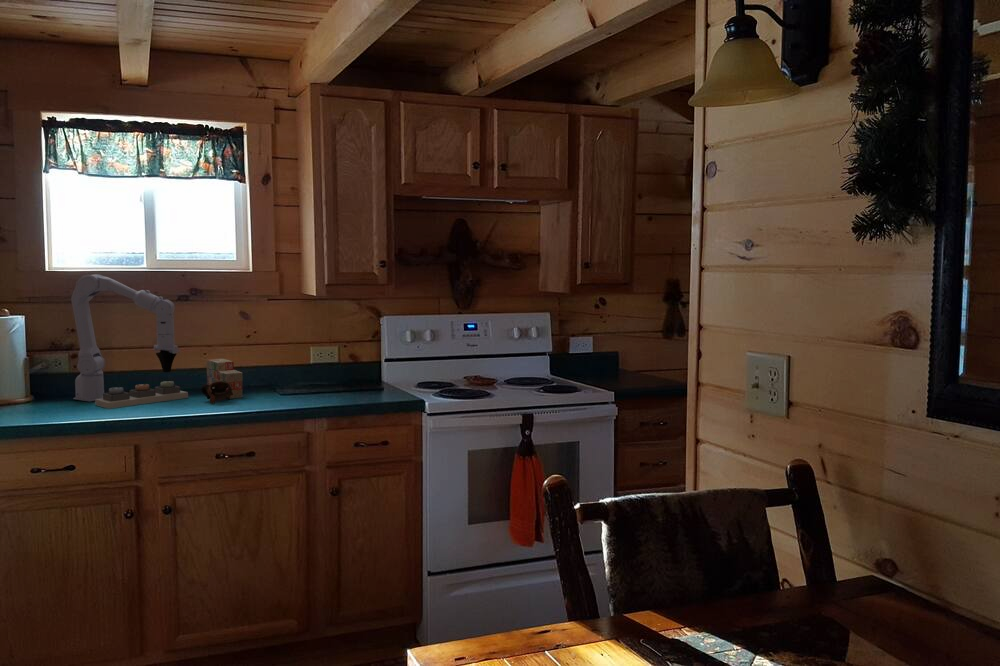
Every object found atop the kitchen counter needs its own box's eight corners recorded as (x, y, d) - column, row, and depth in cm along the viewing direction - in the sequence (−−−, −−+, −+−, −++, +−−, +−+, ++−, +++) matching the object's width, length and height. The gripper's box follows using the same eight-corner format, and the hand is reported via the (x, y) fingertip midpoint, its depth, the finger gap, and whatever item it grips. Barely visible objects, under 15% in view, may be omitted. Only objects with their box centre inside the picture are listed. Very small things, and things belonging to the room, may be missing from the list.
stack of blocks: (243, 397, 287) (242, 364, 286) (225, 399, 283) (224, 365, 282) (223, 389, 304) (222, 357, 303) (207, 391, 300) (206, 358, 299)
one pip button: (164, 387, 282) (164, 383, 281) (158, 386, 284) (158, 381, 284) (176, 386, 285) (176, 381, 285) (170, 384, 288) (170, 380, 288)
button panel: (108, 408, 264) (107, 396, 264) (95, 405, 271) (94, 393, 271) (188, 397, 286) (187, 386, 285) (174, 394, 292) (173, 383, 292)
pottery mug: (238, 400, 284) (238, 382, 279) (224, 416, 276) (224, 398, 271) (207, 391, 285) (206, 373, 280) (192, 407, 277) (191, 388, 272)
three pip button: (139, 390, 275) (138, 386, 275) (133, 389, 278) (133, 384, 278) (151, 389, 278) (151, 384, 278) (145, 387, 281) (145, 383, 281)
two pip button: (112, 394, 268) (112, 389, 268) (106, 392, 271) (106, 388, 271) (125, 392, 271) (125, 388, 271) (119, 391, 274) (119, 386, 274)
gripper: (186, 334, 281) (187, 372, 283) (166, 331, 291) (167, 368, 292) (167, 336, 276) (168, 374, 277) (147, 333, 285) (148, 370, 287)
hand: (166, 371), depth 284 cm, fingers closed
